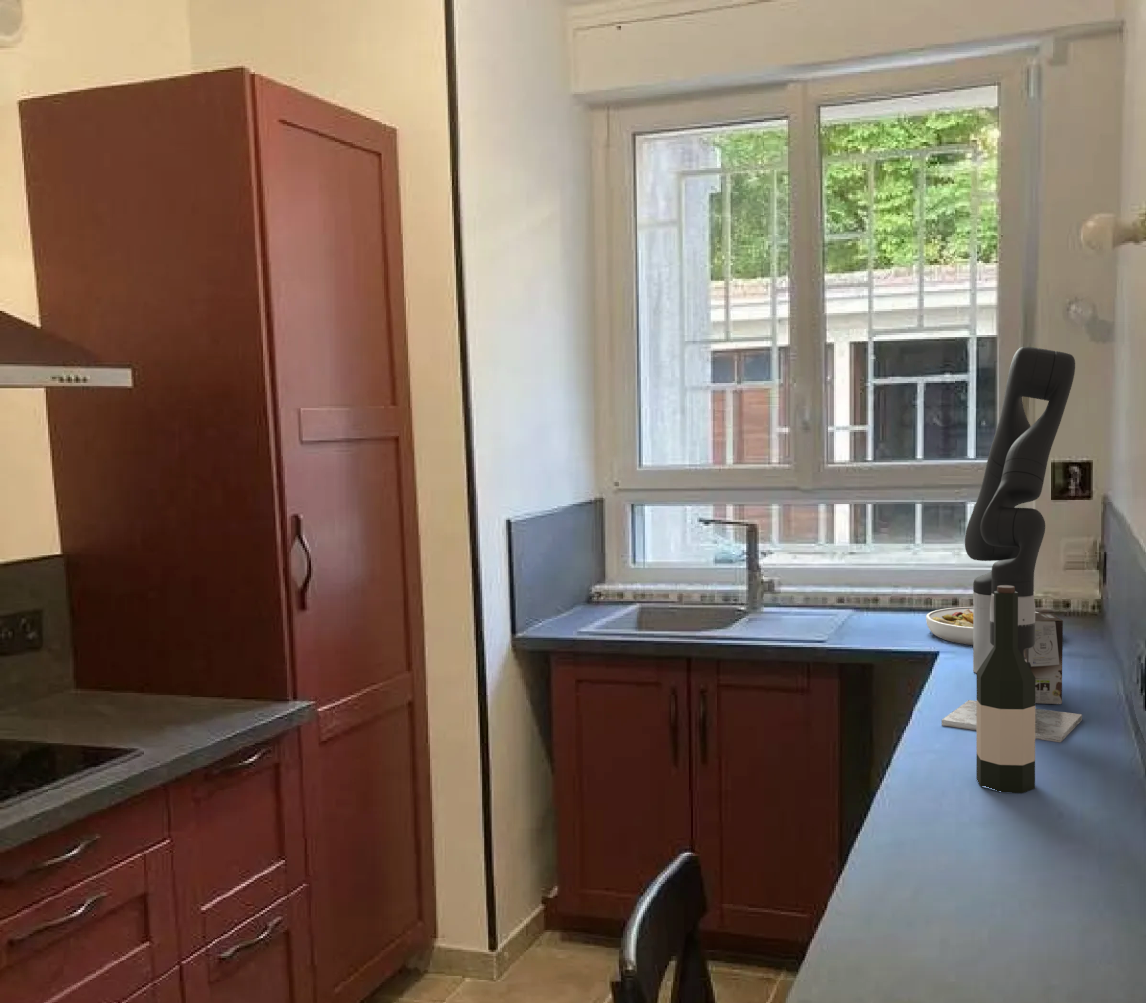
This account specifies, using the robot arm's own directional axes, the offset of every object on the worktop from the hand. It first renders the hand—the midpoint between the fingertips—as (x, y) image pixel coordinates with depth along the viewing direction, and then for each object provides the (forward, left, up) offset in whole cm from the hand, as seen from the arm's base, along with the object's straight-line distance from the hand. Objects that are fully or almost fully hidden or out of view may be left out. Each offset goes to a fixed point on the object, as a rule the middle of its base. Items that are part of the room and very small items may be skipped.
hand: (1012, 711), depth 198 cm
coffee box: (-20, 0, -2) cm, 20 cm away
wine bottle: (+34, +8, -2) cm, 35 cm away
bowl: (-75, -25, -3) cm, 79 cm away
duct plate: (0, 0, -2) cm, 2 cm away
